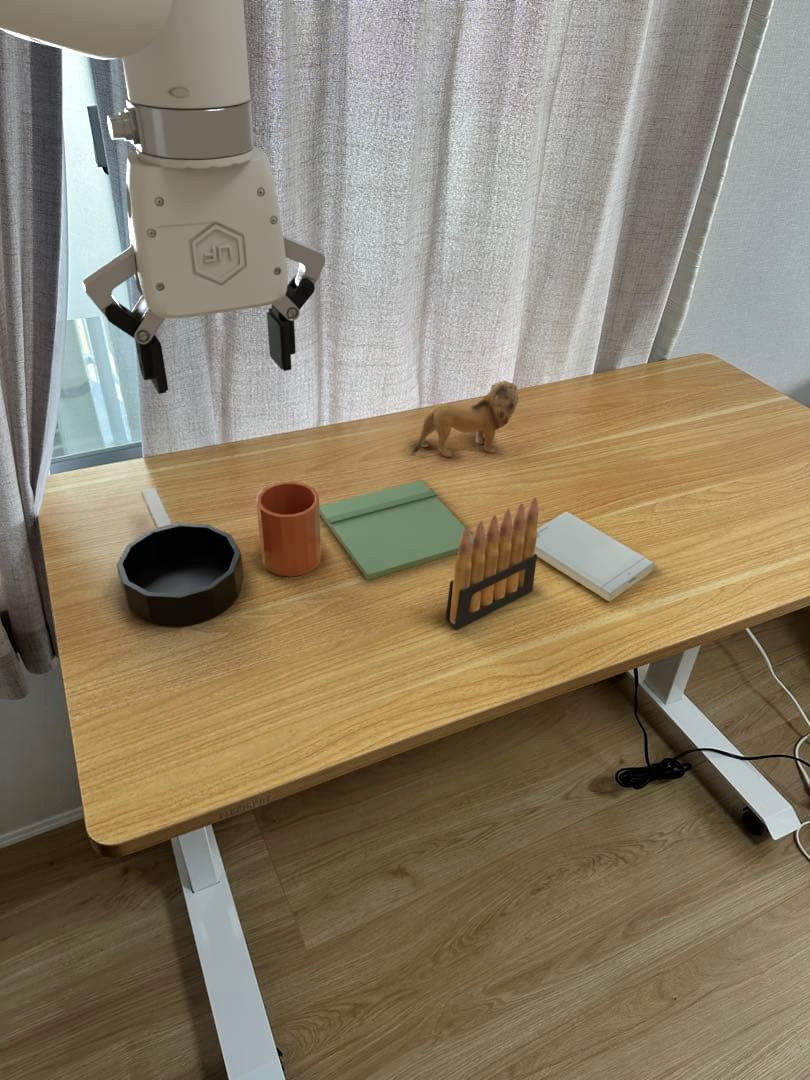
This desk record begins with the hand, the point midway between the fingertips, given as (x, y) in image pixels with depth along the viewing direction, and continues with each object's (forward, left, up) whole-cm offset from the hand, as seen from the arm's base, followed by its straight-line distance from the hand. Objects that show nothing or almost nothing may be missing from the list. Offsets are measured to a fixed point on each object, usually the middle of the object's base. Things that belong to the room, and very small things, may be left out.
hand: (221, 374), depth 62 cm
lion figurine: (+38, +23, -28) cm, 53 cm away
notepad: (+21, +10, -28) cm, 37 cm away
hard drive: (+38, -4, -28) cm, 48 cm away
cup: (+8, +10, -28) cm, 31 cm away
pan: (-4, +14, -28) cm, 32 cm away
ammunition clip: (+24, -6, -28) cm, 38 cm away
